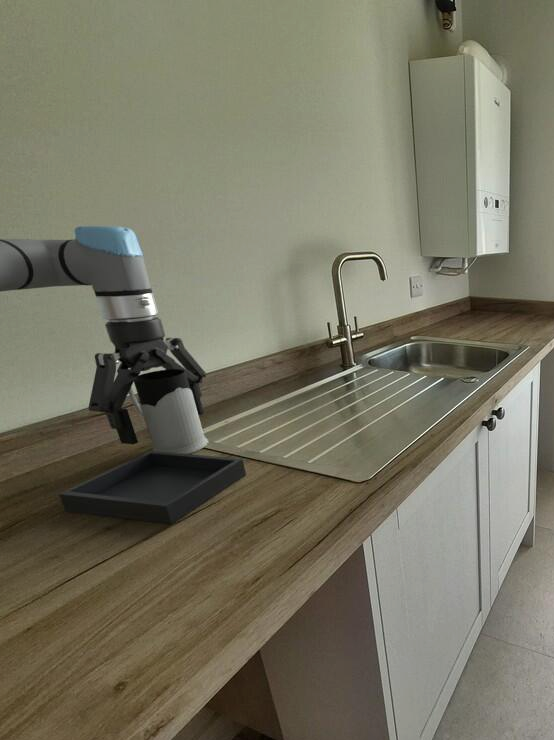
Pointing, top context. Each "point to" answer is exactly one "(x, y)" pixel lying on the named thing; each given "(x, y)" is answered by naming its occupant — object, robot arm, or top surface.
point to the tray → (154, 487)
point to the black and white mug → (169, 411)
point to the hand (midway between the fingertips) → (166, 427)
